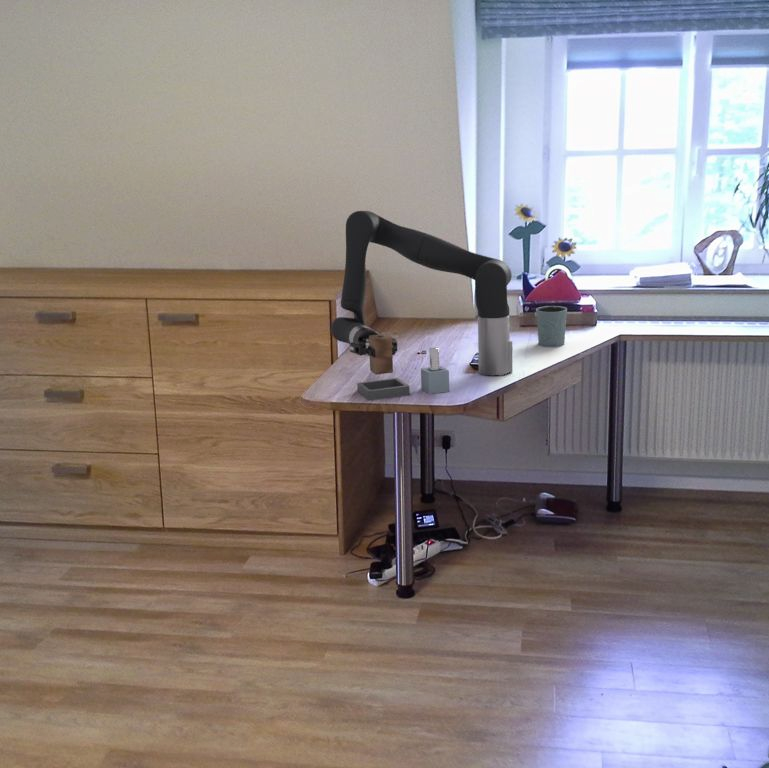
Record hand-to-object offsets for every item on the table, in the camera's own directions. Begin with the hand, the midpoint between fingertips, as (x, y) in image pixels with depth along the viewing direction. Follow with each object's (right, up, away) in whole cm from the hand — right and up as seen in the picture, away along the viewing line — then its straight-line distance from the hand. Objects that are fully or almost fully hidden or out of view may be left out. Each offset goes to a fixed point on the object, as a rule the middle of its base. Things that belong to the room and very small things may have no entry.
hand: (384, 352), depth 252 cm
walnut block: (-1, -5, +4) cm, 7 cm away
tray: (0, -11, +5) cm, 12 cm away
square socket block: (+14, -10, +6) cm, 19 cm away
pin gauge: (+14, -10, +6) cm, 19 cm away
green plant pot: (+56, +4, +55) cm, 79 cm away
